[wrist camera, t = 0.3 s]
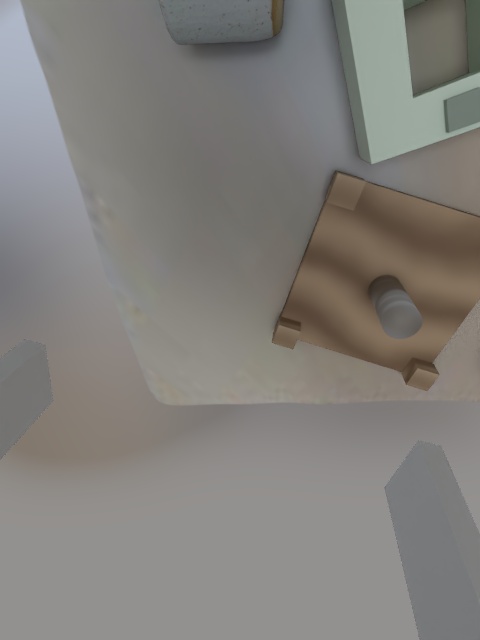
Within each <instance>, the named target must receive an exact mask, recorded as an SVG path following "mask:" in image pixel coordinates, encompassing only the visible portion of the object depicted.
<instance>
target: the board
mask: <svg viewBox="0 0 480 640" xmlns="http://www.w3.org/2000/svg"><path fill="white" fill-rule="evenodd" d="M479 299H480V217H479V216H476V215H473V214H470V213H466V212H463V211H460V210H457V209H454V208H450V207H447V206H444V205H441V204H437V203H434V202H431V201H428V200H425V199H421V198H418V197H415V196H412V195H409V194H405V193H402V192H399V191H396V190H393V189H389V188H386V187H383V186H380V185H376V184H373V183H370V182H367V181H365V180H364V179H362V178H359V177H356V176H353V175H350V174H346V173H343V172H340V171H337V170H336V171H335V174H334V176H333V179H332V182H331V184H330V187H329V189H328V192H327V195H326V197H325V202H324V205H323V207H322V210H321V212H320V215H319V218H318V220H317V223H316V225H315V228H314V230H313V233H312V236H311V238H310V241H309V243H308V246H307V249H306V251H305V254H304V256H303V259H302V262H301V264H300V267H299V269H298V272H297V275H296V277H295V280H294V282H293V285H292V288H291V290H290V293H289V295H288V298H287V300H286V303H285V306H284V308H283V311H282V313H281V316H280V317H279V319H278V322H277V325H276V327H275V330H274V332H273V338H272V343H274V344H277V345H281V346H284V347H287V348H290V349H293V348H294V346H295V344H296V341H297V339H298V340H301V341H304V342H307V343H310V344H314V345H317V346H320V347H323V348H326V349H330V350H333V351H336V352H339V353H343V354H346V355H349V356H352V357H355V358H359V359H362V360H365V361H368V362H371V363H375V364H378V365H381V366H384V367H387V368H391V369H394V370H397V371H400V372H402V376H403V378H404V381H405V383H406V385H409V386H412V387H415V388H419V389H422V390H425V391H428V390H429V388H430V387H431V386H432V384H433V383H434V382H435V380H436V379H437V378H438V377H439V373H438V371H437V369H436V367H435V366H434V364H432V362H433V361H434V360H435V358H436V357H437V356H438V354H439V353H440V352H441V350H442V349H443V348H444V346H445V345H446V343H447V342H448V341H449V339H450V338H451V337H452V335H453V334H454V333H455V331H456V330H457V329H458V327H459V326H460V324H461V323H462V322H463V320H464V319H465V318H466V316H467V315H468V314H469V312H470V311H471V310H472V308H473V307H474V306H475V304H476V303H477V301H478V300H479Z"/></svg>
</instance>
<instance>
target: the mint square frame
mask: <svg viewBox="0 0 480 640" xmlns="http://www.w3.org/2000/svg"><path fill="white" fill-rule="evenodd" d="M331 1H332V6H333V12H334V18H335V23H336V29H337V34H338V40H339V45H340V51H341V57H342V62H343V68H344V73H345V79H346V85H347V90H348V96H349V101H350V107H351V112H352V118H353V124H354V129H355V135H356V140H357V146H358V151H359V157H360V158H361V159H363V160H364V161H366V162H368V163H370V164H375V163H378V162H380V161H383V160H386V159H389V158H392V157H395V156H398V155H401V154H403V153H406V152H409V151H412V150H415V149H418V148H421V147H424V146H427V145H429V144H432V143H435V142H438V141H441V140H444V139H447V138H450V137H452V136H455V135H458V134H461V133H464V132H467V131H470V130H473V129H475V128H478V127H480V0H465V1H466V25H467V48H468V72H469V73H468V74H466V75H463V76H461V77H458V78H456V79H453V80H451V81H448V82H446V83H443V84H440V85H438V86H435V87H433V88H430V89H428V90H425V91H423V92H420V93H417V94H415V95H413V93H412V84H411V75H410V65H409V56H408V46H407V37H406V28H405V18H404V11H405V10H407V9H409V8H411V7H413V6H415V5H417V4H420V3H422V2H424V1H426V0H331Z"/></svg>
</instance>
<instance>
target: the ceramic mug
mask: <svg viewBox="0 0 480 640" xmlns="http://www.w3.org/2000/svg"><path fill="white" fill-rule="evenodd" d="M159 2H160V6H161V10H162V13H163V16H164V19H165V23H166V26H167V29H168V31H169V33H170V35H171V37H172V38H173V40H174V41H175V42H176V43H178V44H181V45H187V44H203V43H225V42H248V41H260V40H264V39H268V38H272V37H274V36H276V35H277V34H278V33H279V31H280V30H281V28H282V23H283V8H284V0H159Z"/></svg>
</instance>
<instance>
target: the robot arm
mask: <svg viewBox="0 0 480 640" xmlns="http://www.w3.org/2000/svg"><path fill="white" fill-rule="evenodd" d="M52 402H53V395H52V388H51V381H50V374H49V367H48V360H47V353H46V346H45V345H44V344H41V343H37V342H33V341H29V340H25V339H24V340H23V341H22V342H20V343H19V344H18V345H17V346H15V347H14V348H13V349H12V350H10V351H9V352H7V353H6V354H5V355H4V356H2V357H1V358H0V460H1V459H2V457H3V456H4V455H5V454H6V453H7V452H8V451H9V450H10V448H11V447H12V446H13V445H14V444H15V443H16V442H17V441H18V439H20V437H21V436H22V435H23V434H24V433H25V432H26V431H27V430H28V428H29V427H30V426H31V425H32V424H33V423H34V422H35V420H36V419H37V418H38V417H39V416H40V415H41V414H42V413H43V411H45V409H46V408H47V407H48V406H49V405H50V404H51V403H52ZM385 492H386V496H387V501H388V505H389V509H390V513H391V518H392V522H393V527H394V531H395V535H396V540H397V544H398V548H399V553H400V557H401V561H402V566H403V570H404V574H405V578H406V583H407V587H408V591H409V596H410V600H411V605H412V609H413V613H414V617H415V622H416V626H417V630H418V635H419V639H420V640H480V534H479V531H478V529H477V527H476V525H475V522H474V520H473V517H472V515H471V513H470V511H469V508H468V506H467V504H466V502H465V499H464V497H463V495H462V492H461V490H460V488H459V486H458V483H457V481H456V479H455V476H454V474H453V472H452V470H451V467H450V465H449V463H448V461H447V458H446V456H445V454H444V451H443V449H442V447H441V446H439V445H435V444H431V443H427V442H423V441H419V440H418V442H417V443H416V444H415V446H414V447H413V449H412V450H411V451H410V453H409V454H408V456H407V457H406V458H405V460H404V461H403V462H402V464H401V465H400V467H399V468H398V469H397V471H396V472H395V474H394V475H393V476H392V478H391V479H390V481H389V482H388V483H387V485H386V486H385Z"/></svg>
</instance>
